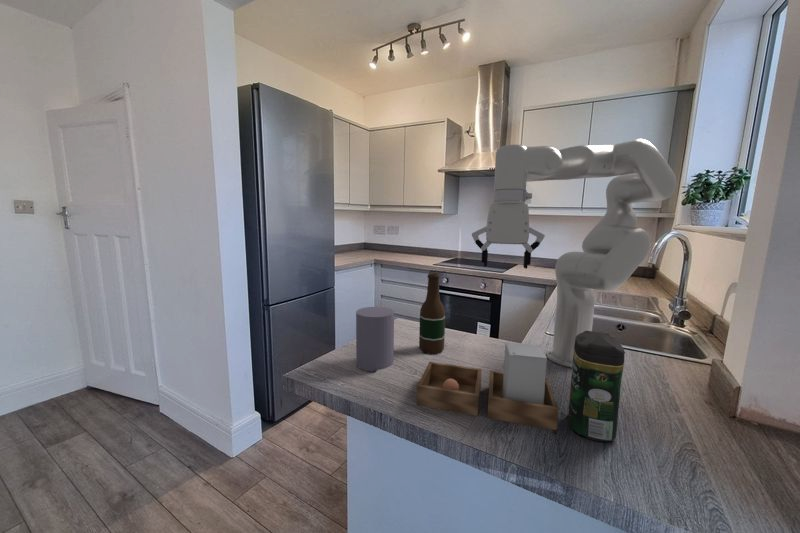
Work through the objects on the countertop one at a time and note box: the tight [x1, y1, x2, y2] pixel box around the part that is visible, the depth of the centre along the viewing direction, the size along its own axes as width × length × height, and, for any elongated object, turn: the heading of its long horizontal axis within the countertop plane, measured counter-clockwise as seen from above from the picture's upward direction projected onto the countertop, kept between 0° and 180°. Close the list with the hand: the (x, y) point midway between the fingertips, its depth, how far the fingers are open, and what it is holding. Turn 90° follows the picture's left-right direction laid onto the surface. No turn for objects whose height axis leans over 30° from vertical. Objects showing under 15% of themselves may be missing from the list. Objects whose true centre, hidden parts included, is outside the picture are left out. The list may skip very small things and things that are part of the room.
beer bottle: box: [418, 272, 446, 355], centre depth 98 cm, size 8×8×24 cm
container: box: [355, 306, 395, 373], centre depth 88 cm, size 10×10×15 cm
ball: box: [443, 379, 459, 391], centre depth 72 cm, size 4×4×4 cm
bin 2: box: [487, 369, 559, 435], centre depth 68 cm, size 13×13×5 cm
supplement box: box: [502, 342, 548, 405], centre depth 67 cm, size 7×7×13 cm
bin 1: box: [416, 361, 483, 417], centre depth 72 cm, size 13×13×5 cm
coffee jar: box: [568, 330, 626, 442], centre depth 61 cm, size 10×8×19 cm
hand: (505, 266), depth 81 cm, fingers open, 9 cm apart
